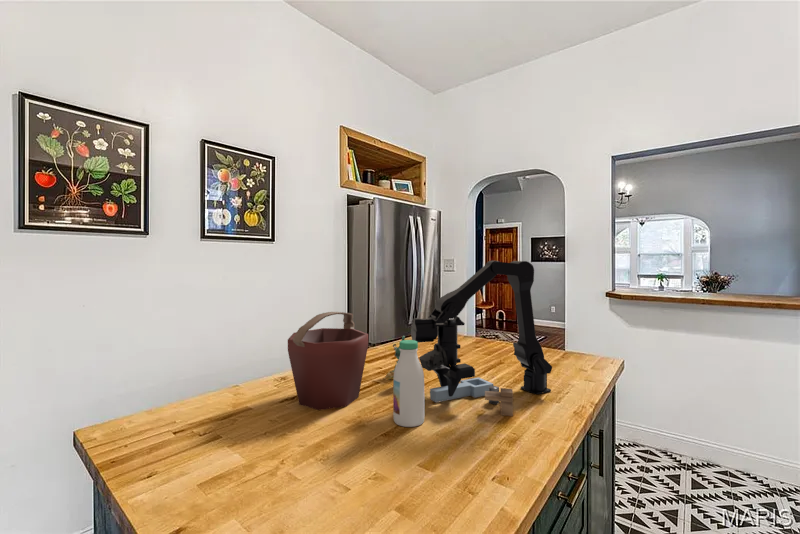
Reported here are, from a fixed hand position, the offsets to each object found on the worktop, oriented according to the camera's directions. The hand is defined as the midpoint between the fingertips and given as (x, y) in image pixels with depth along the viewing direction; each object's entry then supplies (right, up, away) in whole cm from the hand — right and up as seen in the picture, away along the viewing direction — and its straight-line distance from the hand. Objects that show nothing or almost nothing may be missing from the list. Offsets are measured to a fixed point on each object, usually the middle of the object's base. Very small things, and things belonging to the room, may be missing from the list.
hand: (447, 394), depth 111 cm
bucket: (-34, -1, 0) cm, 34 cm away
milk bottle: (-12, -2, -16) cm, 20 cm away
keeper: (+12, -1, -11) cm, 16 cm away
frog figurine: (-12, -1, +23) cm, 26 cm away
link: (+4, -1, +2) cm, 5 cm away
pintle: (+12, -1, -4) cm, 13 cm away
